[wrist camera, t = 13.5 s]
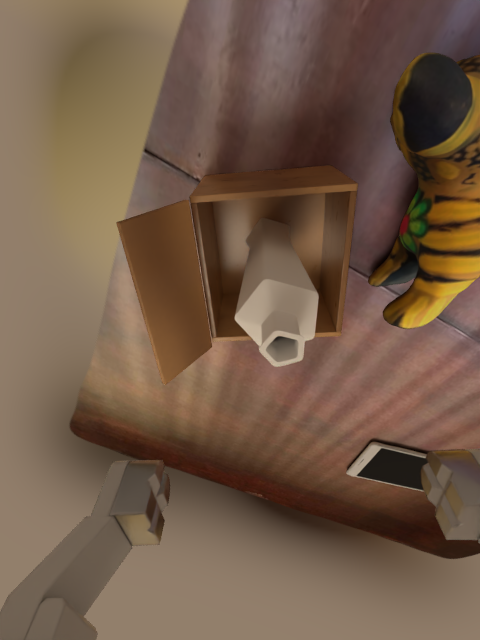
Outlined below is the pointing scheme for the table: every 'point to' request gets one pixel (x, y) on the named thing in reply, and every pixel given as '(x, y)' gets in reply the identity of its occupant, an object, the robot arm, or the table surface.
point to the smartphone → (390, 465)
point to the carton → (305, 236)
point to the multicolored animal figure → (436, 187)
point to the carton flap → (168, 285)
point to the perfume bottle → (276, 295)
